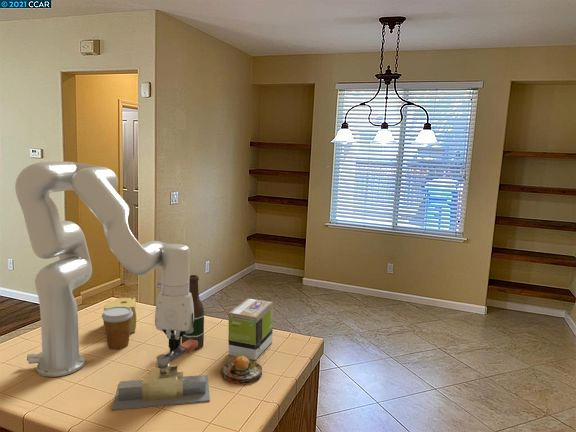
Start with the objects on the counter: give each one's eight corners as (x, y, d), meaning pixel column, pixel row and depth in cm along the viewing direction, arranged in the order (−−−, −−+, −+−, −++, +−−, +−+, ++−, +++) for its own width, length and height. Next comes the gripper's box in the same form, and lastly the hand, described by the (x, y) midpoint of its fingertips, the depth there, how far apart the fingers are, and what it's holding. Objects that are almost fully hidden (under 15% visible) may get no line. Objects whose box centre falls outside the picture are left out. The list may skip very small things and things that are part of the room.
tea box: (246, 337, 153) (247, 297, 151) (273, 342, 150) (274, 301, 148) (227, 355, 139) (228, 311, 137) (255, 361, 136) (257, 316, 134)
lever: (163, 369, 112) (163, 360, 111) (154, 366, 113) (154, 358, 113) (198, 347, 125) (198, 339, 124) (189, 345, 126) (189, 337, 126)
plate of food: (268, 369, 131) (269, 346, 130) (251, 389, 120) (252, 364, 119) (233, 361, 135) (234, 339, 134) (213, 379, 125) (214, 354, 123)
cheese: (106, 324, 159) (105, 298, 157) (137, 322, 162) (137, 296, 160) (103, 336, 149) (102, 308, 147) (136, 333, 152) (136, 306, 151)
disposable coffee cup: (123, 336, 149) (123, 303, 147) (139, 345, 143) (138, 311, 141) (96, 345, 142) (96, 310, 140) (111, 355, 136) (111, 318, 134)
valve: (117, 405, 110) (117, 374, 108) (121, 392, 115) (120, 363, 114) (205, 397, 115) (206, 368, 113) (204, 385, 120) (205, 357, 119)
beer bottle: (198, 351, 140) (199, 280, 137) (176, 348, 142) (177, 278, 138) (208, 341, 148) (209, 274, 144) (186, 338, 149) (187, 271, 146)
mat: (112, 410, 108) (112, 408, 107) (120, 382, 120) (120, 381, 120) (209, 401, 113) (209, 400, 113) (207, 376, 126) (207, 374, 125)
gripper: (143, 290, 118) (143, 353, 120) (196, 295, 116) (195, 359, 118) (156, 282, 125) (155, 342, 128) (205, 287, 123) (204, 347, 126)
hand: (174, 350), depth 123 cm, fingers closed
